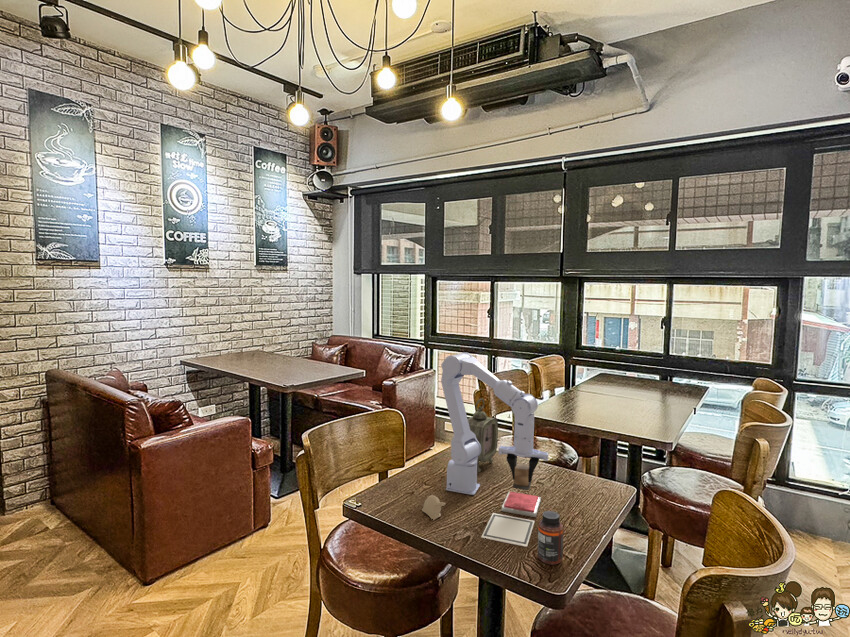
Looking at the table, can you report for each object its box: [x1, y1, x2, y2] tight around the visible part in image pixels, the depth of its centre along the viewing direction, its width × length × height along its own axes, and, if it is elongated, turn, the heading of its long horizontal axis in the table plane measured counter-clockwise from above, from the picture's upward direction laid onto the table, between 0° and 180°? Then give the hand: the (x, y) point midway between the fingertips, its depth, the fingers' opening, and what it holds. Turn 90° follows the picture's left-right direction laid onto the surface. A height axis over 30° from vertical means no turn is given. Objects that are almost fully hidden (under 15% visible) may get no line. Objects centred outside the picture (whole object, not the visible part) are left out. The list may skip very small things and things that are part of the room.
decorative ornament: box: [421, 494, 446, 521], centre depth 139 cm, size 4×8×5 cm, turn 29°
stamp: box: [512, 463, 532, 491], centre depth 144 cm, size 5×5×6 cm
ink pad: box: [501, 491, 542, 518], centre depth 145 cm, size 10×11×2 cm
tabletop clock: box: [467, 398, 499, 474], centre depth 175 cm, size 14×9×25 cm, turn 149°
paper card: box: [480, 512, 536, 548], centre depth 132 cm, size 12×14×1 cm
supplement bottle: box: [537, 510, 564, 566], centre depth 118 cm, size 6×6×11 cm
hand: (522, 479), depth 145 cm, fingers closed on stamp, 4 cm apart
